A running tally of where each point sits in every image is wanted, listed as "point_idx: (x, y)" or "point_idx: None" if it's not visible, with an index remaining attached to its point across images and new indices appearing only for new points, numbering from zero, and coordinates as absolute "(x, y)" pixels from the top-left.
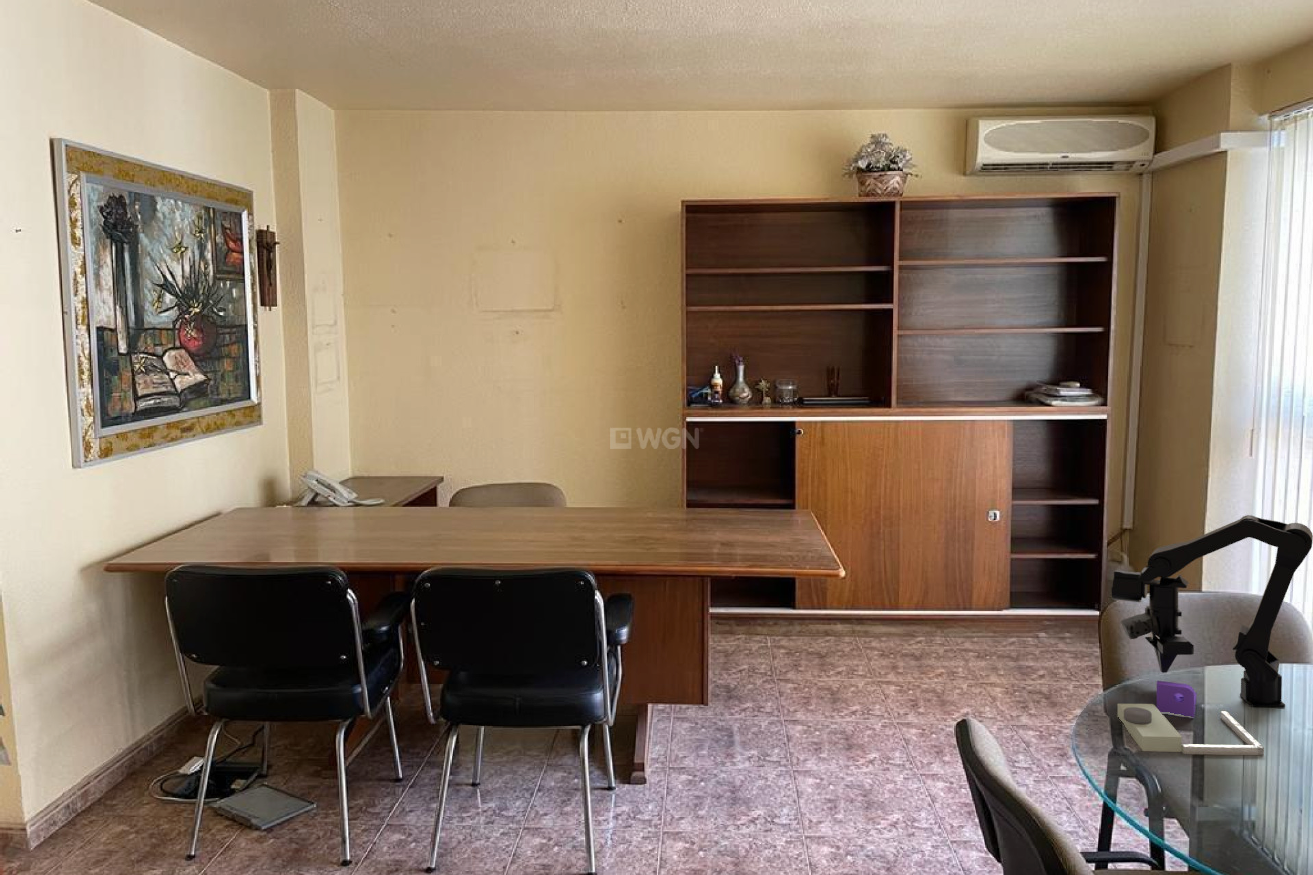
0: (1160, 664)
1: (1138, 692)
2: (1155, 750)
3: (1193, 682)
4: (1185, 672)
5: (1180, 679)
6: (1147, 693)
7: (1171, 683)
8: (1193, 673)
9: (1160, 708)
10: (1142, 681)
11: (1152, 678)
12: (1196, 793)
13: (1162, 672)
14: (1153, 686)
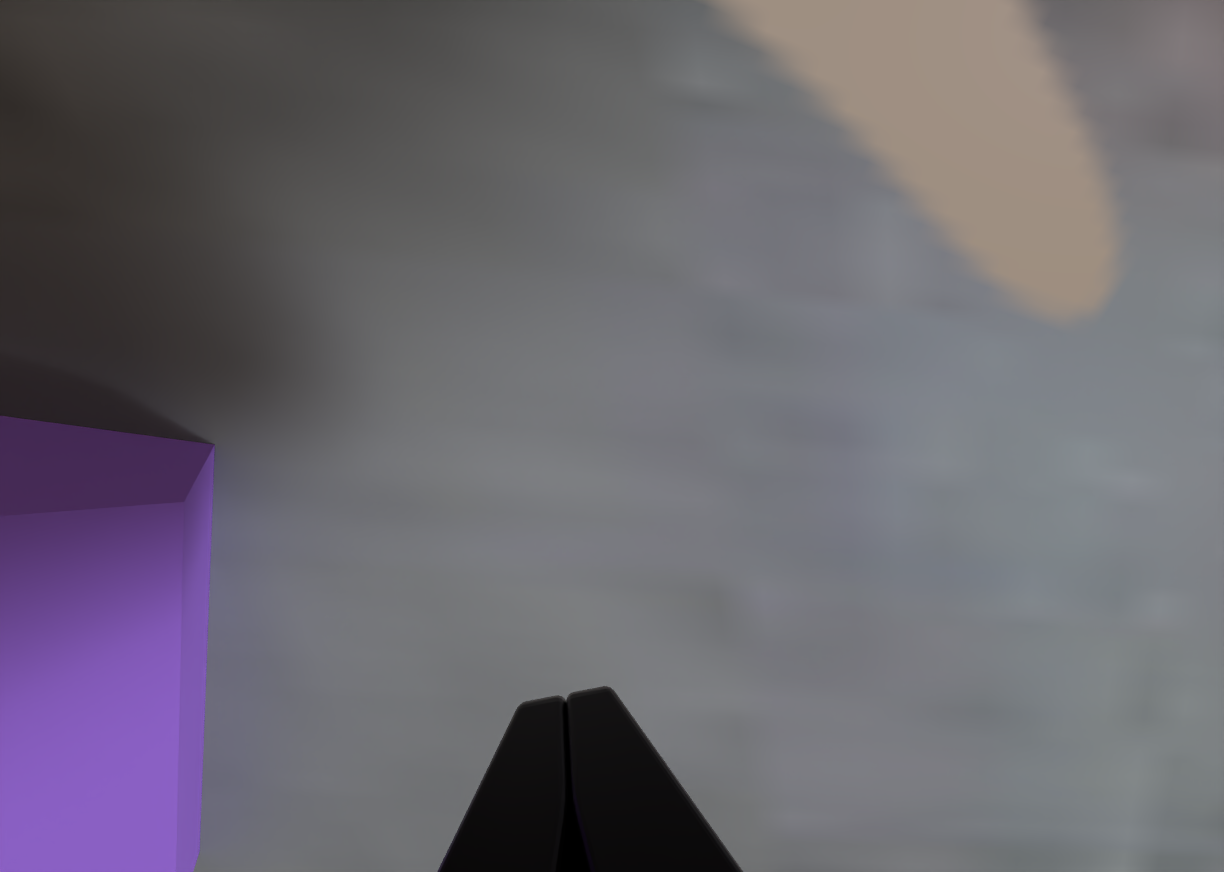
0: (472, 866)
1: (82, 11)
2: None
3: (821, 847)
4: (1197, 792)
5: (932, 732)
6: (100, 204)
7: None
8: (1149, 859)
9: None
10: (812, 187)
11: (979, 381)
12: None
13: (521, 705)
14: (558, 357)
